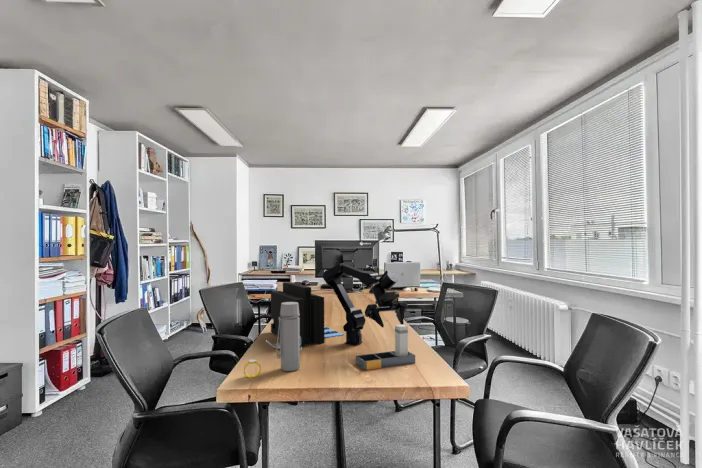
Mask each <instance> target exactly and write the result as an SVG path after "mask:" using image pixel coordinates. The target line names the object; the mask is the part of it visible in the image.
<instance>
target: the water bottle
mask: <svg viewBox="0 0 702 468" xmlns="http://www.w3.org/2000/svg"><path fill="white" fill-rule="evenodd" d="M280 315H281V316H280V317H282V318H280V317H278V319H279V328H280V338H279V329H278V336H277V340H276V344H277V345H276V346H277V348H275V349H276V350H275V354H276V359H280V369H281V370H282V371H285V372H295V371H297V370H299V369H300V366H301V365H300V364H301V362H300V361H301V359H300V357H301V353H300V351H301V350H300V349H301V348H300V318H299V317H298V316H300V314H299V305H298V302H284V303H281V311H280ZM280 322H281V327H280ZM278 344H280V349H278ZM278 350H279V353H280V354H278Z"/></svg>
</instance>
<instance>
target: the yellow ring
mask: <svg viewBox="0 0 702 468" xmlns="http://www.w3.org/2000/svg"><path fill="white" fill-rule="evenodd" d="M249 364H256V365H258V366H259V370H258V372H257V373H256V374H253V375H248V374H247V373H246V371H245V370H246V367H248V365H249ZM243 366H244V367H243V374H244V376H245V377H246V378H250V379H251V378H257V377H258V376H259V375H260V374H261V372H262V370H261V369H262V368H261V364H260V363H259V361H257V359H249V360H248V362H246V363H245V364H244V365H243Z"/></svg>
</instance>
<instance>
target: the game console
mask: <svg viewBox="0 0 702 468" xmlns="http://www.w3.org/2000/svg"><path fill="white" fill-rule="evenodd" d="M284 302H298V305H299V314H300V316H298V317H299V318H300V337H301V345H300V347H302V348H303V347H305V346H306V347H308V346H311V345H312V346H313V345H322V344H325V339H329V338H330V337H331V338H336V336H337V337H343V336H345V333H344V332H339V331H337V330H334V329H333V328H329V327H328V326H326V325H325V297H324V296H321V295H318V294H313V293H312V287H311V286H307V285H303V284H300V283H295V282H290V281H285V282H282V290H271V291H270V319H271V320H273V321H272V322H271V323H270V333H271V332H272V333H271V334H273V335H275V336H276V335H277V336H276V337H278V329H279V337H280V328H279V319H278V317H280V316H281V315H280V311H281V303H284ZM280 318H282V317H280ZM280 327H281V322H280Z"/></svg>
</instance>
